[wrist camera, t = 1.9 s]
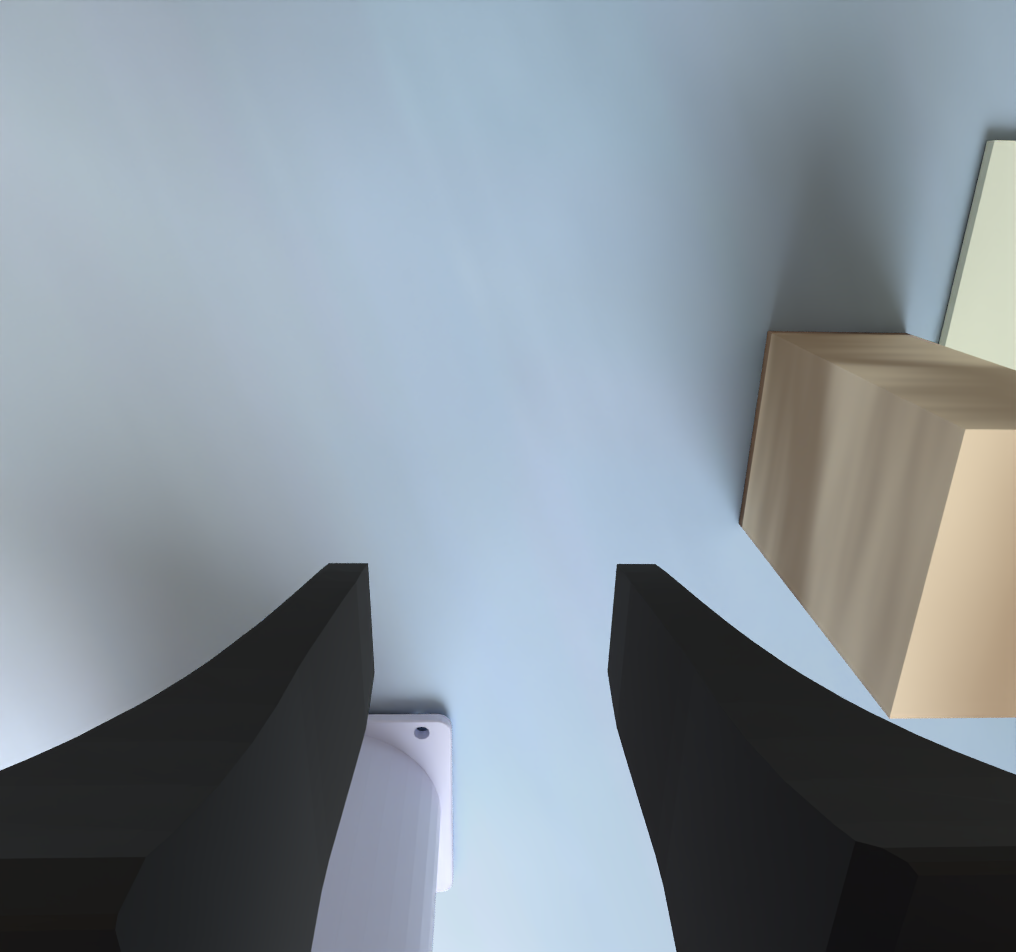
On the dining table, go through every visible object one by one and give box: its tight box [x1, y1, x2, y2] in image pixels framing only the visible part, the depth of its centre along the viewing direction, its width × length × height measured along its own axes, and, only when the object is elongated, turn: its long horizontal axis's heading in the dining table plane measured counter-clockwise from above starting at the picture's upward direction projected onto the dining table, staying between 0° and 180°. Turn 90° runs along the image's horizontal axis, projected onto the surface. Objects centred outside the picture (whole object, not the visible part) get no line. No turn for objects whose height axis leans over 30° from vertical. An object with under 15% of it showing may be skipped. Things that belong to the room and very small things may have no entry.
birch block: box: [739, 331, 1016, 719], centre depth 18 cm, size 4×6×9 cm, turn 179°
